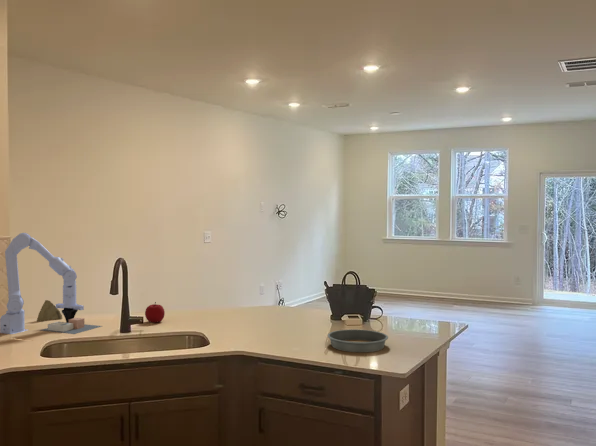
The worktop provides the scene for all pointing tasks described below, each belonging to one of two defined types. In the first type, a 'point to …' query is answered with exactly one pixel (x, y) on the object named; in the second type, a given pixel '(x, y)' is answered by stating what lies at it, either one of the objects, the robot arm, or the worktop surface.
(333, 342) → the cake pan
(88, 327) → the mat
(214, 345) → the worktop surface
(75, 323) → the stub
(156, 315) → the apple
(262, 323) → the worktop surface
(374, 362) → the worktop surface
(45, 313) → the rock
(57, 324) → the white flat block
